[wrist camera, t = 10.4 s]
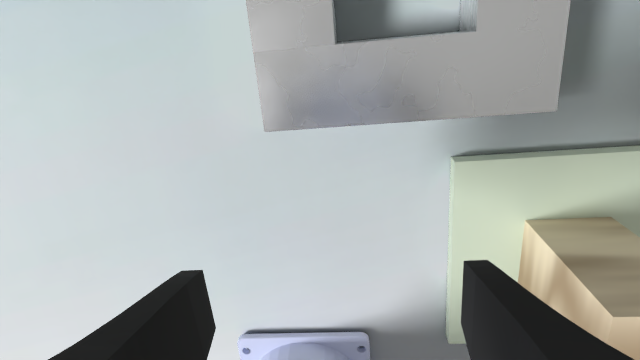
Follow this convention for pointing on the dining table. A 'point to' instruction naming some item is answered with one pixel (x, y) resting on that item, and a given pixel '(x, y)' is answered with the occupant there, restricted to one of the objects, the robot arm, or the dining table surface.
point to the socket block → (406, 65)
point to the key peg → (587, 275)
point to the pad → (530, 205)
